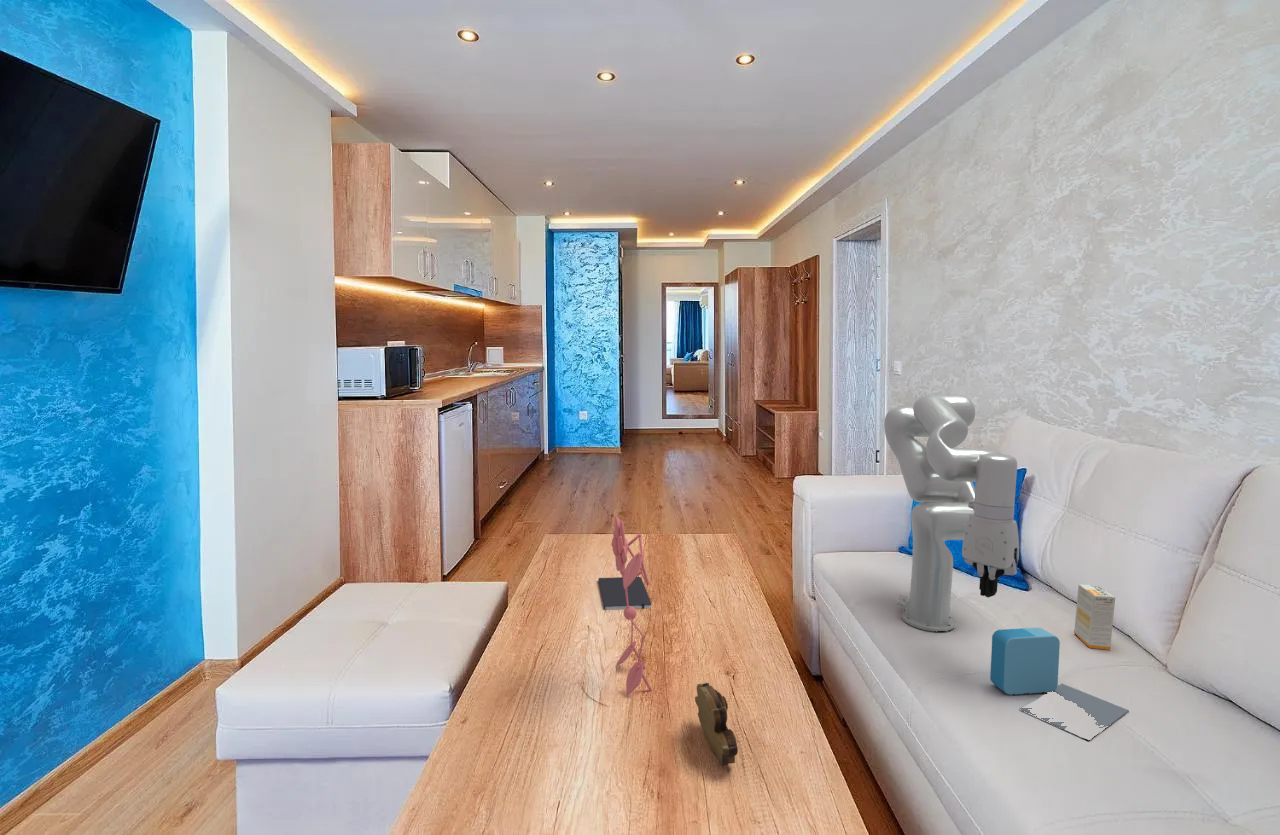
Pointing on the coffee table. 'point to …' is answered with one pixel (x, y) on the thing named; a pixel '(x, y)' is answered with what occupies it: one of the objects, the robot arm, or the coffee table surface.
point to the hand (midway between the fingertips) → (987, 595)
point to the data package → (1024, 660)
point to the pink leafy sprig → (629, 613)
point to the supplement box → (1094, 616)
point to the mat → (1088, 706)
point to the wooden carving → (716, 723)
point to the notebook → (623, 594)
